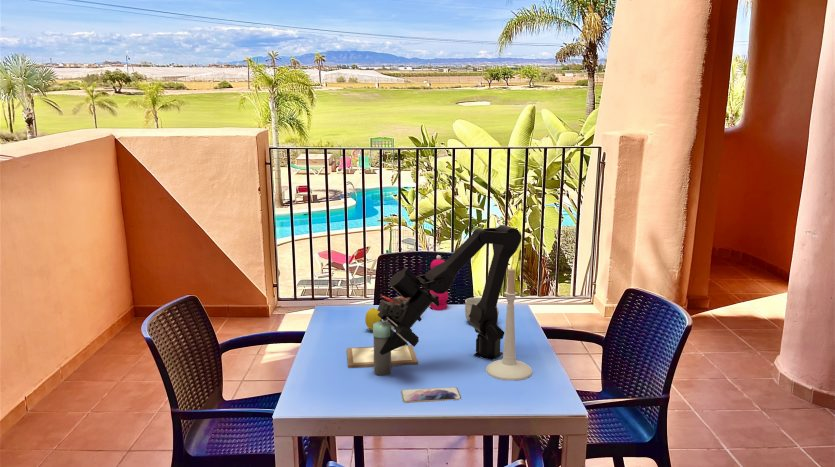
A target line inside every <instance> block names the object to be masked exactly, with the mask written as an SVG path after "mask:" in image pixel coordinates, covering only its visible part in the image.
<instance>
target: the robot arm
mask: <svg viewBox="0 0 835 467" xmlns="http://www.w3.org/2000/svg"><path fill="white" fill-rule="evenodd" d="M521 242H522V233H521V232H520V230H518V229H517V228H515V227H512V226H509V225H505V224H501V225H498V226H497V227H485V228H475V229H474V230H473V232H472V234H471V235H470V236H468V238H467V239H466V240H465V241H463V243H462V244H461V245H459V246H458V248H456V250H455V251H453V253H452V254H451V255H450V256H448V258H447V259H445V260H444V261H445V262H443V263H441V264H439V265H437V266H435V267H434V268H432V269H431V268H430V269H429V270H428V271H427V272H426V273H424V274H422V275H417V276H416V275H415V274H413V272H412V270H410V269H409V268H408V267H404V268H403V269H402V270H399V271H398V272H395V273H394V274H393V275H392V277H391V278H390V280H389V283H388V284H389V286H390V287H391V288H392V289H393V290H394V291H396V293H398V295H400V296H402V297H403V298H408V297H409V299H408V300H407V301H406V303H405V304H404V303H403V302H402V303H400V304H399V305H398V304H397V305H396V304H395V303H390V302H389V301H388V300H385V299H381V300H380V303H379V304H378V307H377V308H376V309H377V311H380V312H379V313H378V316H379V317H380V318H381V319H382V321H381V320H380V322H389V323H391V329H390V337H389V339H388V340H387V342H386V343H385V344H384V346H383V347H382V349H381V350H380V354H381V355H383V354H386V353H388V352H390V351H392V350H394V349H397V348H399V347H402V346H404V345H412V346H413V348H414V347H416V345H418V343H419V341H420V340H419V336H418V335H417V334H416V333H414V332H413V330H412V327H413V326H414V325H415V324H416V323H417V321H418V322H421V321H422V320H423V319H422V318H421V316H423V314H424V313H425V311H427V309H429V308H430V305H431V303H433V304H435V305H436V306H439V296H437V295H432V294H431V293H430V290H432V291H433V292H435V293H437V294H443V293H445V292H446V291H447V292H448V290H449V289H450V288H451V286H452V285H453V284H454V282H455V280H456V277H457V274H458V273H459V272H460V270H462V269H463V267H464V266H466V265H467V263H468V262H470V261H471V259H472V258H474V257H475V255H477V253H478V252H479V251H480V250H481V249H482V248H484V246H485V245H488V244H489V245H491V246H492V251H493V255H492V260H491V263H490V266H489V270H488V274H487V276H486V281H485V284H484V288H483V292H482V295H481V297H480V298H481V300H480V302H479V303H478V304H477V305H474V304H472V307H471V312H470V314H469V316H468V317H470V321H469V324H470V326H471V327H472V328H473V329H474V331H475V333H477V334H476V339H475V353H474V354H473V356H474V357H477V358H482V359H485V360H490V361H495V359H498V358H499V357H501V356H503V352H501V340H502V339H503V338H504V337H505V330H503V329H502V328H501V327H500V326H499V325H498V321H499V320H498V318H499V315H498V312H497V308H498V307H497V306H498V301H499V298H500V294H501V291H502V288H503V284H504V280H505V276H506V273H507V271H508V265H509V263H510V259H511V258H512V257H513V255H515V253H516V252H517V250H518V248H519V246H520V243H521ZM421 287H422V288H424V289H422V288H421ZM372 347H374V345H372Z"/></svg>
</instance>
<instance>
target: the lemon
mask: <svg viewBox="0 0 835 467" xmlns="http://www.w3.org/2000/svg"><path fill="white" fill-rule="evenodd" d="M377 309H378V308H375V307H372V308H370V309H368V310H367V312H366V313H365V319H364V320H365V325H366V327H367V328H368V329H370V330H371V331H373V324H374V323H376V322H380V320H381V321H383V320H382V319H381V318H380V317H379V316H378V313H379V312H380V311H377Z"/></svg>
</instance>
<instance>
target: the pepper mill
mask: <svg viewBox="0 0 835 467" xmlns="http://www.w3.org/2000/svg"><path fill="white" fill-rule="evenodd" d="M445 261H446V260H444V259H442V255H439V254H437V255H436V259H433V260H432V261H431V262H430V270H431V269H432V268H434V267H435V266H437V265H439V264H441V263H443V262H445ZM429 292H430V293H431V294H432V295H437V296H439V306H436V305H435V304H433V303H431V305H430V306H429V308H430V309H431V308H432V309H431V310H433V309H434V311H443V310H442V309H445V310H446V309H447V308H448V303H447V301H448V299H449V293H448V290H447V291H446V292H445V293H443V294H437V293H435V292H433V291H432V290H429Z"/></svg>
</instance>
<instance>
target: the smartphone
mask: <svg viewBox="0 0 835 467" xmlns="http://www.w3.org/2000/svg"><path fill="white" fill-rule="evenodd" d="M400 394H401V399H402V402H403V403H404V404H410V403H412V404H413V403H428V402H432V403H433V402H446V401H447V400H453V401H460V400H459V399H461V398H462V396H461V394H460V391H459V388H458V387H456V386H454V387H453V386H451V387H432V388H430V387H428V388H411V389H410V388H409V389H407V388H406V389H401V390H400ZM445 400H446V401H445ZM461 400H462V399H461ZM447 402H448V401H447Z"/></svg>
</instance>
